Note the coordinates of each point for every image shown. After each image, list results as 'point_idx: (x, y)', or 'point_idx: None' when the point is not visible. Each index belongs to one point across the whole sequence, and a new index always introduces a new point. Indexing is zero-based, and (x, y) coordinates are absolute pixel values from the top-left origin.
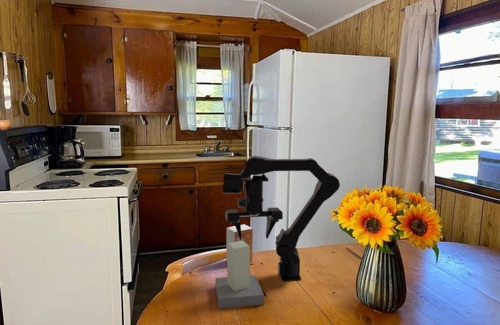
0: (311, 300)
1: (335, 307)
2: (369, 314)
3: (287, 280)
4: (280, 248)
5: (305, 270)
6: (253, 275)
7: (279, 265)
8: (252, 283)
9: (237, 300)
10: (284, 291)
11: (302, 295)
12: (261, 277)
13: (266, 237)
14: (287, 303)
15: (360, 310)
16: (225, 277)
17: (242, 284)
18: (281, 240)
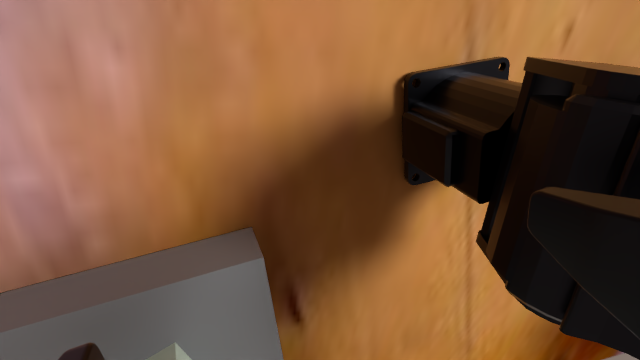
0: (463, 319)
1: (512, 340)
2: (572, 350)
3: (428, 178)
4: (548, 320)
5: (555, 34)
6: (249, 262)
7: (442, 169)
8: (243, 354)
9: None
10: (387, 275)
11: (446, 292)
12: (292, 138)
13: (539, 228)
14: (376, 357)
15: (564, 338)
16: (32, 326)
17: None
18: (636, 347)
